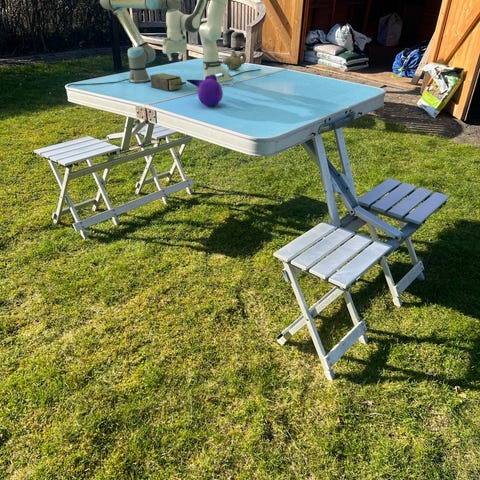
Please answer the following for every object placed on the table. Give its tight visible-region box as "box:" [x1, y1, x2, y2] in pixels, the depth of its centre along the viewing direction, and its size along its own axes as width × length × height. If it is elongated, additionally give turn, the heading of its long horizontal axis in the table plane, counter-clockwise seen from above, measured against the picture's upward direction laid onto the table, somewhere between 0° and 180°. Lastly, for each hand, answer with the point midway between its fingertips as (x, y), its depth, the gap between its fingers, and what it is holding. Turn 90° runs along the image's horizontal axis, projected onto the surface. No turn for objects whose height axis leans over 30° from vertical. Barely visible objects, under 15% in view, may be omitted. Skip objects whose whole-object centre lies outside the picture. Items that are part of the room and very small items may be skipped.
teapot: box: [222, 50, 247, 71], centre depth 368 cm, size 21×12×15 cm, turn 120°
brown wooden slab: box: [149, 72, 182, 92], centre depth 314 cm, size 20×11×8 cm, turn 44°
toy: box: [185, 75, 224, 107], centre depth 270 cm, size 16×18×27 cm
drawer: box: [168, 77, 187, 91], centre depth 311 cm, size 24×10×6 cm, turn 44°
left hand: (178, 49), depth 332 cm, fingers open, 13 cm apart
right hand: (175, 59), depth 299 cm, fingers open, 8 cm apart
